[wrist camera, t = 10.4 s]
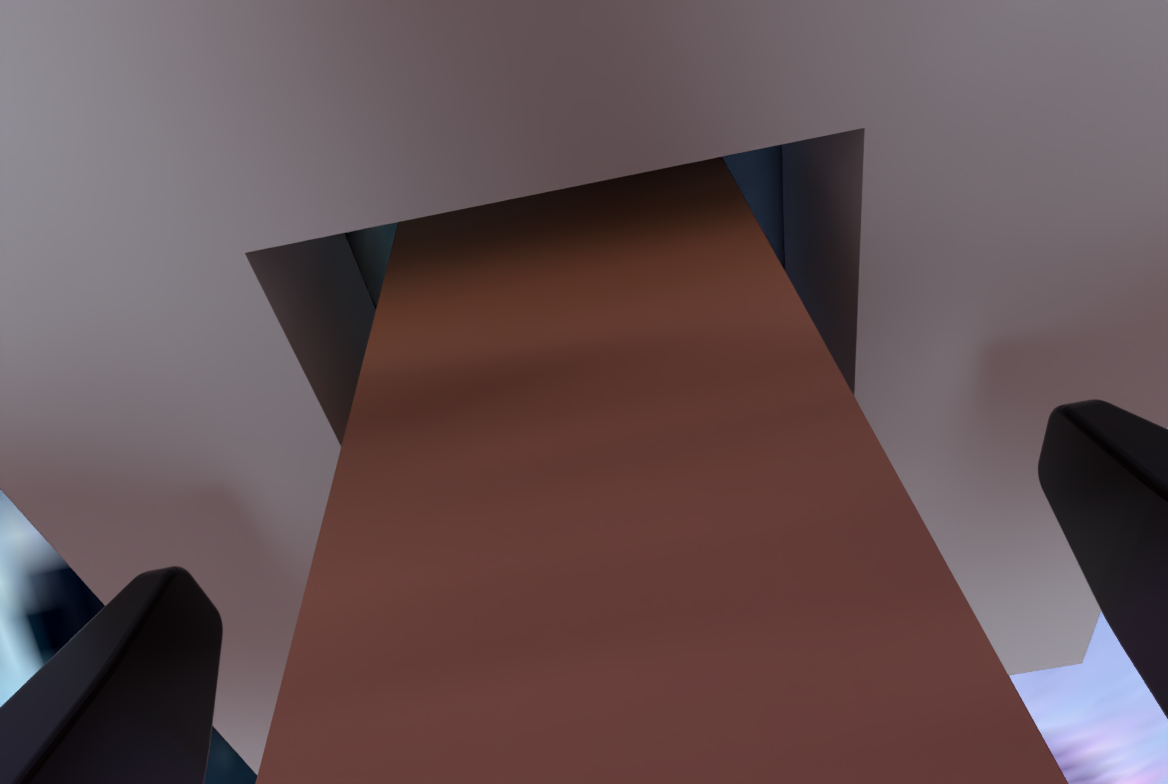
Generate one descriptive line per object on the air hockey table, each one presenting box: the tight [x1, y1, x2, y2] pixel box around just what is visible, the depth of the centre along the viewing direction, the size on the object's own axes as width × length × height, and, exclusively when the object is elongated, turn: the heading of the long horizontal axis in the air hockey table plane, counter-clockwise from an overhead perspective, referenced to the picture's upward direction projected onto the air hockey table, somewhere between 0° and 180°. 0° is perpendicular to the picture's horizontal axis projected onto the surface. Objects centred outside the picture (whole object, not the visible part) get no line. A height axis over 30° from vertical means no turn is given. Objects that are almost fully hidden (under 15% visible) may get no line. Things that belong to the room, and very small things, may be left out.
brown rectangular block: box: [256, 157, 1068, 784], centre depth 8 cm, size 4×4×9 cm
